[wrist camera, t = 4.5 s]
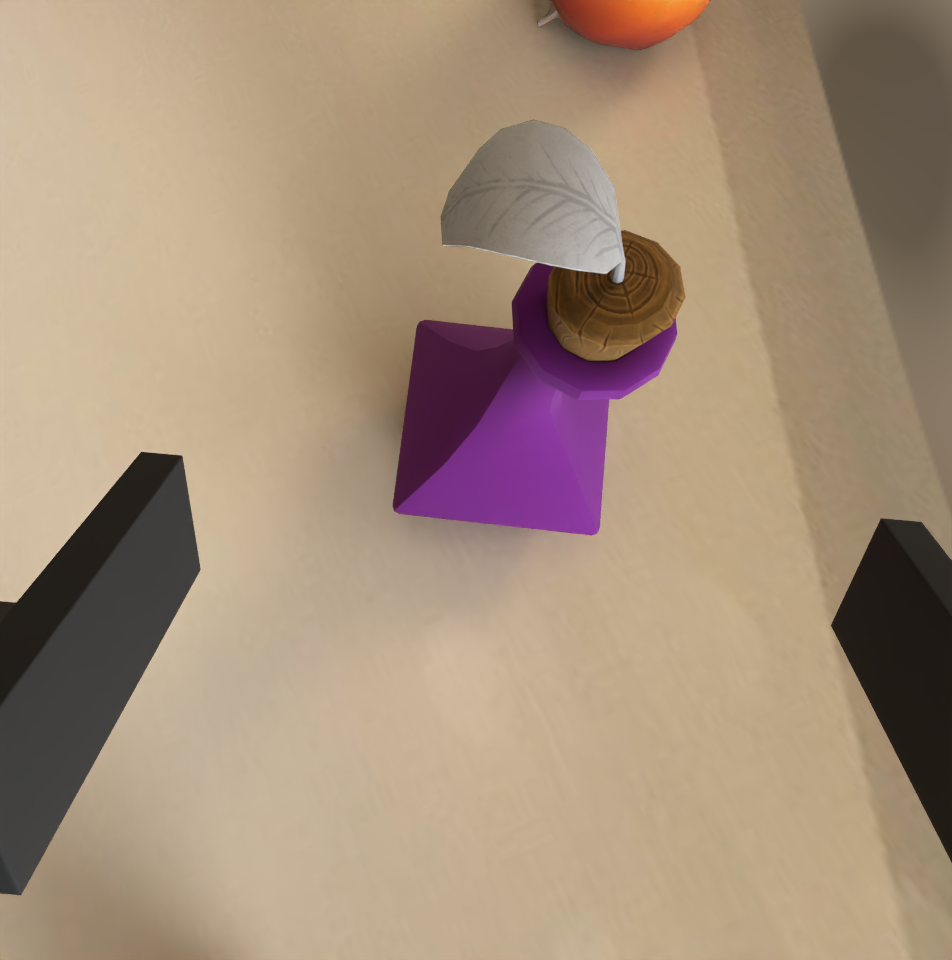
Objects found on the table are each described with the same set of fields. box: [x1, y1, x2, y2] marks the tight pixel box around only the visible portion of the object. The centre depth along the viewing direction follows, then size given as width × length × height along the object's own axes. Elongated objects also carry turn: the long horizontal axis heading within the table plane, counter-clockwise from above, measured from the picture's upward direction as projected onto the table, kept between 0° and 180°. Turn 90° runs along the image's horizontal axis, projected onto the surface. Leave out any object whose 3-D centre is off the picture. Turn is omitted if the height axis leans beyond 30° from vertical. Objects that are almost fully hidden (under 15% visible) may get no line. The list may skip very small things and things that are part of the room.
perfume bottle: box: [393, 120, 685, 535], centre depth 22 cm, size 8×8×18 cm
